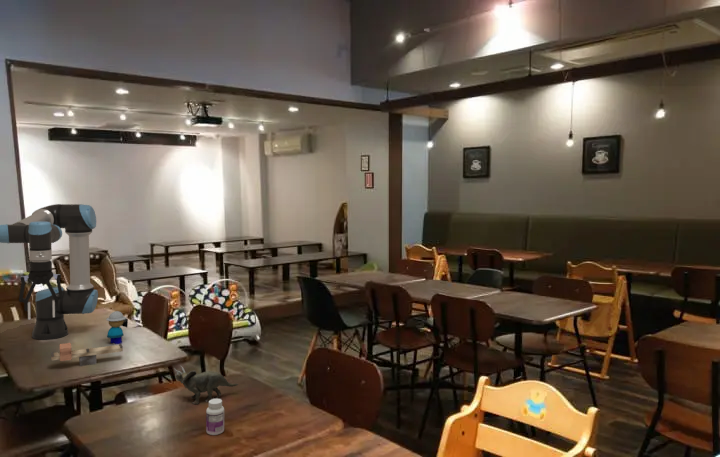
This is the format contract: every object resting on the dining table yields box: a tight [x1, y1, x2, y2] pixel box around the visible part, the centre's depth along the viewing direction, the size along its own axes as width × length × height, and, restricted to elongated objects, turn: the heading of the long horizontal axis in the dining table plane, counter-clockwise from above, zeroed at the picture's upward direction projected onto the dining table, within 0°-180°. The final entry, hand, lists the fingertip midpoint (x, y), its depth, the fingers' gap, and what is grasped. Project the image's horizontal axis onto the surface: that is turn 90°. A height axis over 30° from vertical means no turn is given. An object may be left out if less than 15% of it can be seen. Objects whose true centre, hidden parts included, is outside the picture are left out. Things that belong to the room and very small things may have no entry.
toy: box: [105, 310, 129, 345], centre depth 243 cm, size 8×9×15 cm
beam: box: [50, 343, 124, 367], centre depth 213 cm, size 26×5×6 cm, turn 122°
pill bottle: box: [205, 398, 225, 436], centre depth 157 cm, size 5×5×10 cm
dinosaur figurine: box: [174, 365, 239, 405], centre depth 180 cm, size 22×8×11 cm, turn 100°
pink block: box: [59, 342, 73, 362], centre depth 209 cm, size 4×7×5 cm, turn 31°
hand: (41, 317), depth 204 cm, fingers open, 8 cm apart
